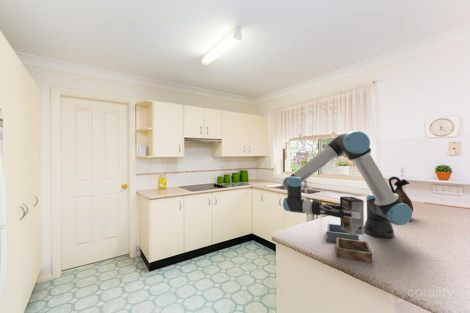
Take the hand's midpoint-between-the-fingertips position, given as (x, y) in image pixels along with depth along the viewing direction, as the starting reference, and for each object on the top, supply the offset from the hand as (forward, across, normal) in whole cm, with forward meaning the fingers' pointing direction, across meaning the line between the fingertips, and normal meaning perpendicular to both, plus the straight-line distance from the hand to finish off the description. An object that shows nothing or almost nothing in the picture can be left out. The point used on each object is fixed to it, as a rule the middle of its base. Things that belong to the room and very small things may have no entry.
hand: (361, 212), depth 100 cm
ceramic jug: (+17, -82, -21) cm, 86 cm away
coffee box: (-4, 0, -10) cm, 11 cm away
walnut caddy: (-4, 0, -20) cm, 20 cm away
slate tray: (-11, -18, -20) cm, 29 cm away
